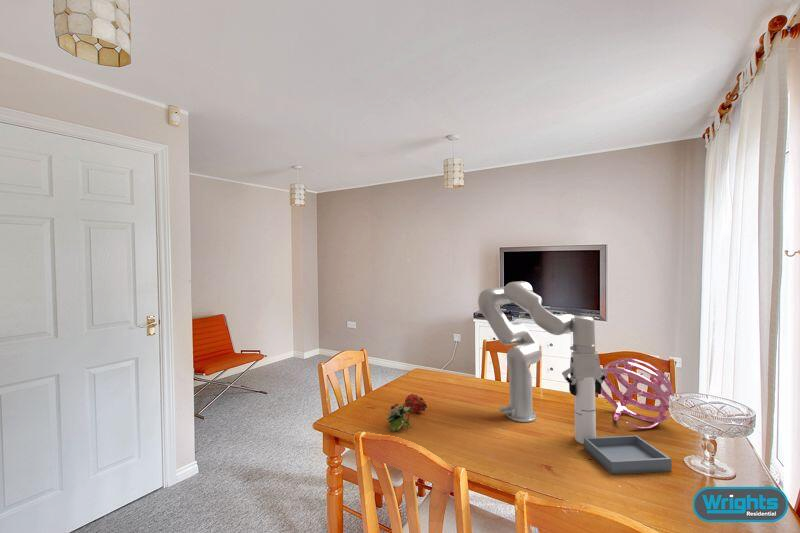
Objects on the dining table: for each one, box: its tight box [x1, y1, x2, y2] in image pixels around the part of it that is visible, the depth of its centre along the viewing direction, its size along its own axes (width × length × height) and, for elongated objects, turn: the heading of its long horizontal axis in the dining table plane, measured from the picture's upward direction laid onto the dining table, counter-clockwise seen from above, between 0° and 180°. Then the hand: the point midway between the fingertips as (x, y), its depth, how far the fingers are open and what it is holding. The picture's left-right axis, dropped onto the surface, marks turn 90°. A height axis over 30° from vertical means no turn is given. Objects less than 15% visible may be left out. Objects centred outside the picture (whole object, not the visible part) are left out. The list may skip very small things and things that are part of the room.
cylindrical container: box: [573, 378, 597, 445], centre depth 138 cm, size 7×7×25 cm
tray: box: [583, 434, 673, 475], centre depth 124 cm, size 20×16×4 cm
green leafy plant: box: [385, 403, 412, 433], centre depth 152 cm, size 11×11×12 cm
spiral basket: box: [600, 357, 675, 430], centre depth 152 cm, size 28×28×27 cm
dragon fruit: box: [403, 393, 428, 415], centre depth 168 cm, size 8×8×12 cm
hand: (585, 393), depth 138 cm, fingers open, 9 cm apart
